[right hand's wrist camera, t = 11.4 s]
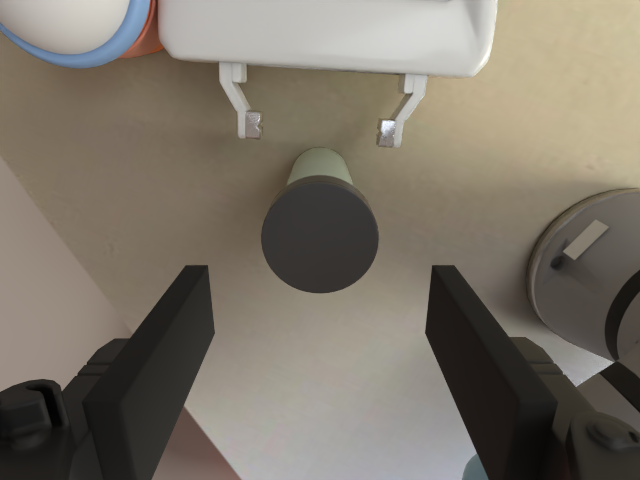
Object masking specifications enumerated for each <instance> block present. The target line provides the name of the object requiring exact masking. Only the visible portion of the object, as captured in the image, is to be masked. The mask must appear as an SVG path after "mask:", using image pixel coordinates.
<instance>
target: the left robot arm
mask: <svg viewBox="0 0 640 480" xmlns="http://www.w3.org/2000/svg"><path fill="white" fill-rule="evenodd" d="M497 4H498V0H158V36H159V40H160V42H161V44H162V45H163V47H164V48H165V49H166V51H167V52H168V53H169V54H170V56H171V57H173V58H175V59H178V60H182V61H191V62H205V63H219V82H220V84H221V85H222V87H223V89H224V91H225V93H226V94H227V96H228V98H229V100H230V102H231V103H232V105H233V107H234V109H235V111H237V121H238V138H242V139H261V138H262V136H263V127H262V125H261V123H262V122H263V111H254V110H251V108H250V106H249V104H248V102H247V100H246V98H245V96H244V94H243V92H242V90H241V88H240V86H239V84H238V83H246V82H247V65H252V66H267V67H282V68H298V69H313V70H329V71H344V72H359V73H375V74H390V75H399V84H398V92H399V93H406V95H405V96H404V98H403V99H402V101H401V102H400V104H399V105H398V107H397V108H396V110H395V111H394V113H393V114H392V116H391V117H390V119H379V118H378V126H377V129H378V130H379V132H378V134H377V135H376V145H378V147H391V148H399V147H400V145H401V139H402V132H403V124H404V121H406V120H407V119H408V117H409V116H410V115H411V113H412V112H413V110H414V109H415V108H416V106H417V105H418V103H419V102H420V101H421V99H422V98H423V97H424V95H425V89H426V82H427V77H436V78H452V79H466V78H472V77H474V76H475V75H476V74H477V73H478V72H479V71H480V70H481V69H482V68H483V67H484V66H485V64H486V63H487V61H488V60H489V57H490V53H491V48H492V43H493V37H494V30H495V23H496V14H497Z"/></svg>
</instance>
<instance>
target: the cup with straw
mask: <svg viewBox="0 0 640 480" xmlns="http://www.w3.org/2000/svg"><path fill="white" fill-rule="evenodd" d="M0 30H1V31H2V32H3V34H4V35H6V36H7V37H8V38H9V39H10V40H11V41H12V42H13V43H15V44H16V45H17V46H19V47H20V48H21V49H23V50H24V51H26V52H27V53H29V54H31V55H33V56H35V57H36V58H39V59H41V60H43V61H45V62H48V63H51V64H54V65H58V66H62V67H68V68H91V67H97V66H100V65H104V64H106V63H108V62H111V61H113V60H115V59H118V58H133V57H139V56H143V55H145V54H150V53H155V52H158V51H160V50H162V49H164V47H163V45H162V44H161V42H160V40H159V36H158V0H0Z"/></svg>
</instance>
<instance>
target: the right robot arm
mask: <svg viewBox="0 0 640 480" xmlns="http://www.w3.org/2000/svg"><path fill="white" fill-rule="evenodd" d="M526 288H527V294H528V298H529V301H530V304H531V306H532V308H533V310H534V311H535V313H536V314H537V316H538V317H539V318H540V319H541V320H542V321H543V322H544V323H545V324H546V325H547V326H548V327H549V329H551V330H552V331H553V332H554V333H555V334H557V335H558V336H560V337H561V338H563V339H564V340H566V341H568V342H570V343H572V344H574V345H576V346H579V347H581V348H583V349H585V350H588V351H590V352H592V353H594V354H597V355H599V356H601V357H603V358H606V359H608V360H610V361H613V362H615V363H613V364H612V365H610V366H608V367H607V368H605V369H604V370H602V371H601V372H599V373H597V374H595V375H594V376H592V377H591V378H589V379H588V380H586V381H585V382H583V383H582V384H580V385H579V386H577V387H575V386H574V384H573V383H572V382H571V381H570V380H569V379H568V377H567V376H566V375H563V372H562V370H561V369H560V368H559V367H558V366H557V365H556V364H554V362H553V360H552V359H551V358H550V357H549V355H548V354H547V353H546V352H545V351H544V350H543V348H541V347H540V346H538V345H537V344H535V343H534V342H532V341H530V340H529V339H527V338H526V337H509V336H508V335H507V334H506V333H505V331H504V330H503V329H502V327H501V326H500V325H499V323H498V322H497V321H496V319H495V318H494V317H493V316H492V314H491V313H490V312H489V310H488V309H487V308H486V306H485V305H484V304H483V302H482V301H481V300H480V299H479V297H478V296H477V295H476V293H475V292H474V291H473V289H472V288H471V287H470V285H469V284H468V283H467V282H466V280H465V279H464V278H463V276H462V275H461V274H460V272H459V271H458V270H457V268H456V267H455V266H454V265H432V273H431V282H430V292H429V301H428V311H427V321H426V330H425V334H426V336H427V338H428V341H429V343H430V345H431V348H432V350H433V352H434V355H435V357H436V359H437V362H438V364H439V366H440V368H441V371H442V373H443V375H444V378H445V380H446V382H447V385H448V387H449V389H450V392H451V394H452V396H453V398H454V401H455V403H456V405H457V408H458V410H459V412H460V415H461V417H462V419H463V422H464V424H465V426H466V429H467V431H468V433H469V435H470V438H471V440H472V442H473V445H474V447H475V449H476V452H477V454H476V455H475V456H473V457H472V458H471V459H470V461H469V462H468V463H467V465H466V467H465V470H464V473H463V478H462V480H640V189H619V190H613V191H608V192H604V193H601V194H598V195H595V196H592V197H590V198H588V199H586V200H583V201H582V202H580V203H578V204H576V205H575V206H573V207H572V208H570V209H569V210H567V211H566V212H565V213H563V214H562V215H561V216H560V217H558V218H557V219H556V220H555V221H554V222H553V223H552V224H551V225H550V226H549V228H548V229H547V230H546V231H545V232H544V234H543V235H542V237H541V238H540V240H539V241H538V243H537V245H536V246H535V248H534V250H533V253H532V255H531V258H530V261H529V264H528V269H527V276H526ZM214 334H215V330H214V321H213V311H212V302H211V292H210V282H209V273H208V265H186V266H185V267H184V268H183V270H182V271H181V272H180V274H179V275H178V276H177V278H176V279H175V280H174V282H173V283H172V284H171V285H170V287H169V288H168V289H167V291H166V292H165V293H164V295H163V296H162V297H161V299H160V300H159V301H158V302H157V304H156V305H155V306H154V308H153V309H152V310H151V312H150V313H149V314H148V316H147V317H146V318H145V319H144V321H143V322H142V323H141V325H140V326H139V327H138V329H137V330H136V331H135V333H134V334H133V335H132V337H131V338H130V339H113V340H112V341H110V342H109V343H107V344H106V345H104V346H103V347H101V348H100V349H98V350H97V351H96V352H95V354H94V355H93V356H92V357H91V358H90V360H89V361H88V362H87V365H84V366H83V368H82V369H81V370H80V371H79V372H78V375H77V376H75V377H74V378H73V379H72V380H71V382H70V383H69V384H68V385H67V386H66V387H65V389H64V390H63V391H61V387H60V385H59V384H57V383H56V382H55V381H53V380H46V379H39V380H31V381H26V382H23V383H20V384H17V385H14V386H11V387H9V388H7V389H5V390H3V391H1V392H0V480H151V479H152V477H153V475H154V472H155V470H156V468H157V466H158V463H159V461H160V458H161V456H162V454H163V451H164V449H165V447H166V445H167V442H168V440H169V438H170V435H171V433H172V431H173V429H174V426H175V424H176V422H177V419H178V417H179V415H180V412H181V410H182V408H183V405H184V403H185V401H186V398H187V396H188V394H189V392H190V389H191V387H192V385H193V382H194V380H195V378H196V375H197V373H198V371H199V368H200V366H201V364H202V362H203V359H204V357H205V355H206V352H207V350H208V348H209V345H210V343H211V341H212V338H213V336H214Z"/></svg>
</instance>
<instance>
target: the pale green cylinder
mask: <svg viewBox="0 0 640 480" xmlns="http://www.w3.org/2000/svg"><path fill="white" fill-rule="evenodd" d="M313 175H327V176H333V177H336V178H340V179H342V180H344V181H346V182H348V183H350V184H351V185H353V182H352V179H351V177H350V174H349V171H348V168H347V165H346V163H345V161H344V160H343V158H342V157H341V156H340V155H339V154H338V153H336V152H335V151H333V150H331V149H328V148H324V147H317V148H312V149H309V150H307V151H305V152H304V153H302V154H301V155H300V156H299V157H298V158H297V160H296V161H295V163H294V165H293V168H292V171H291V174H290V176H289V179H288V182H287V185H289V184H290V183H292V182H294V181H296V180H298V179H301V178H303V177H307V176H313ZM287 185H286V186H287ZM353 186H354V185H353Z"/></svg>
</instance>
